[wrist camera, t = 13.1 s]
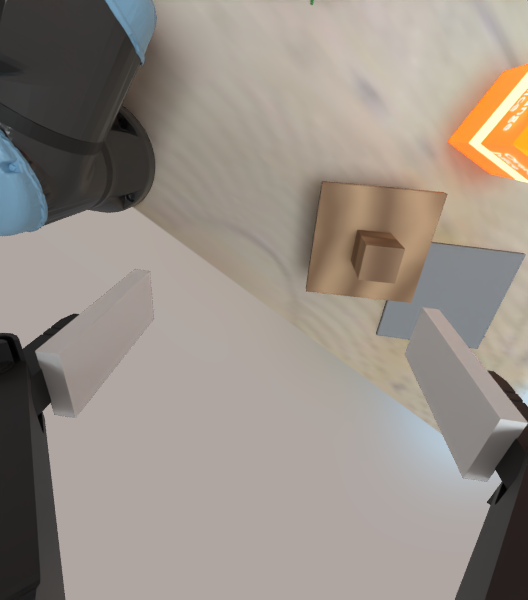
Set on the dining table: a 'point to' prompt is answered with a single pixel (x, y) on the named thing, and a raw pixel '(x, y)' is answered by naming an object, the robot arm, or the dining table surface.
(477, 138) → the orange juice
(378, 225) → the lid
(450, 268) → the mat
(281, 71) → the dining table surface
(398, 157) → the dining table surface
